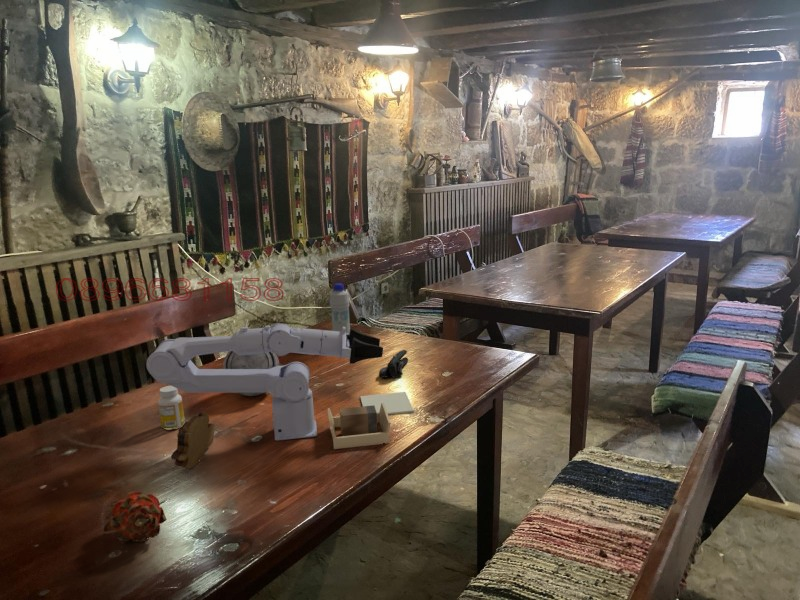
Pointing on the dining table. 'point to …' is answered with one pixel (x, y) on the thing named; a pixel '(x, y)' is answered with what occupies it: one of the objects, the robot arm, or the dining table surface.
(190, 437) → the wooden carving
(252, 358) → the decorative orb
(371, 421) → the block
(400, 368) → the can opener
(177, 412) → the supplement bottle
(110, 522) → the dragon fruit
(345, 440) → the wooden box
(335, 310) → the bottle
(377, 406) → the mat
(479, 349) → the dining table surface
